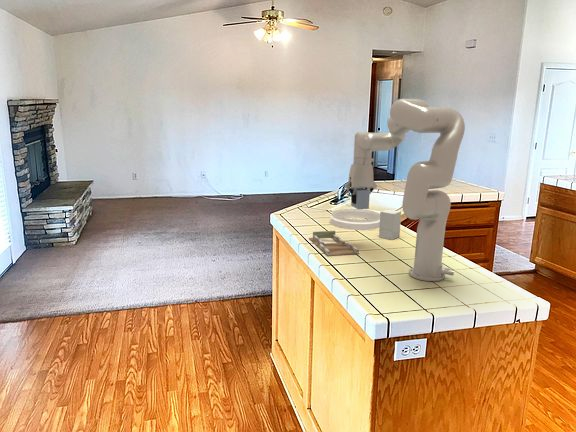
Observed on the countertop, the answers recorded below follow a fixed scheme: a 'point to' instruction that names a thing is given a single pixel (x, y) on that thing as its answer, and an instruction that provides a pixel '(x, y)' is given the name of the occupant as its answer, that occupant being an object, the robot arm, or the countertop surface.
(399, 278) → the countertop surface
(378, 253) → the countertop surface
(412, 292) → the countertop surface
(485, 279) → the countertop surface
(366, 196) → the slider block
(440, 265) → the robot arm
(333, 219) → the plate
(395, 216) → the supplement box
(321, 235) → the track
